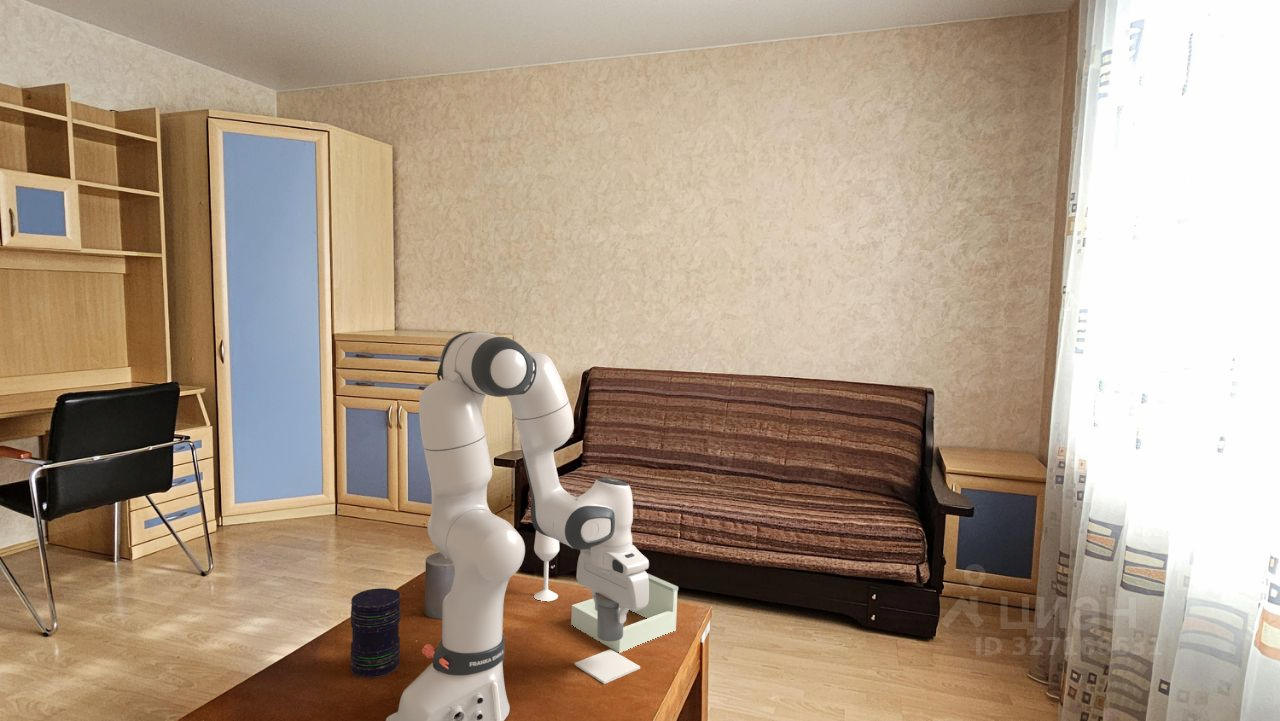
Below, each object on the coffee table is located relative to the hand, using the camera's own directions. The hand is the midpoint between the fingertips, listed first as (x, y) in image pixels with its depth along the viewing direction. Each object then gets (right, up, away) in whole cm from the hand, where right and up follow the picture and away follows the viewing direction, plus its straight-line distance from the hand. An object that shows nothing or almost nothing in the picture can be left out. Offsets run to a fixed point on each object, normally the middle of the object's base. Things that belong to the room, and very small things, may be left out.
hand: (610, 616), depth 151 cm
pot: (0, -4, 0) cm, 4 cm away
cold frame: (+2, -10, +20) cm, 22 cm away
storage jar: (-50, -10, -2) cm, 51 cm away
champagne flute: (-19, -8, +37) cm, 42 cm away
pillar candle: (-43, -8, +26) cm, 50 cm away
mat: (-1, -11, +1) cm, 11 cm away
